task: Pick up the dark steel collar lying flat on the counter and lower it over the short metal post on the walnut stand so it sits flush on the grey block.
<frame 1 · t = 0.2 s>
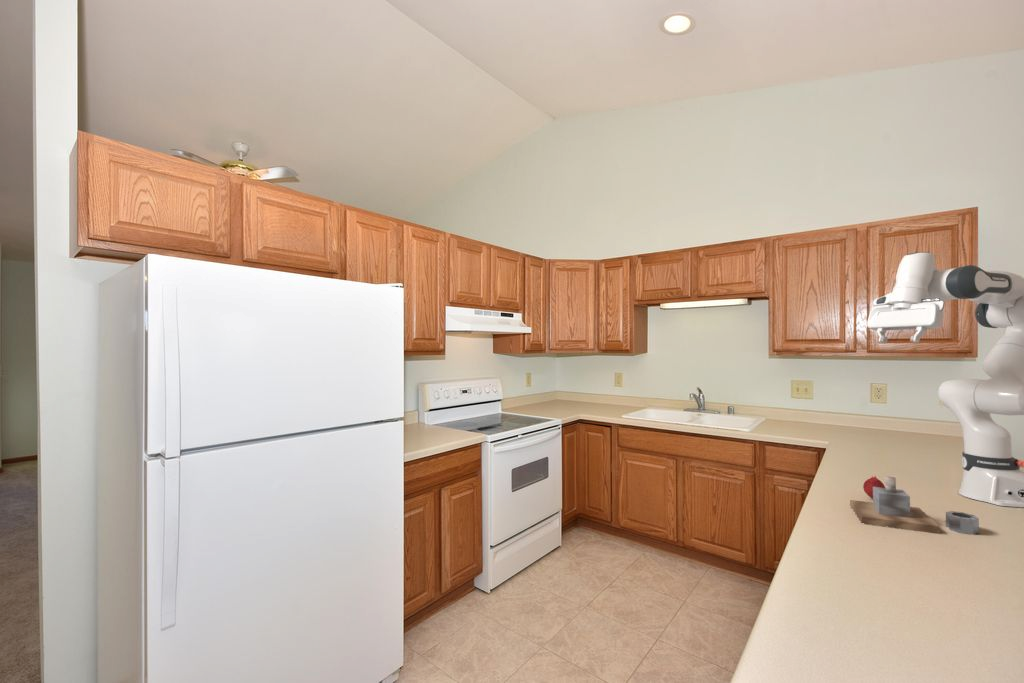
hand: (897, 342, 145), 52 cm above the counter, tool tilted 20°, fingers open, 8 cm apart
collar: (962, 529, 127), on the counter
post stand: (891, 518, 136), on the counter
red rounded piece: (874, 500, 153), on the counter
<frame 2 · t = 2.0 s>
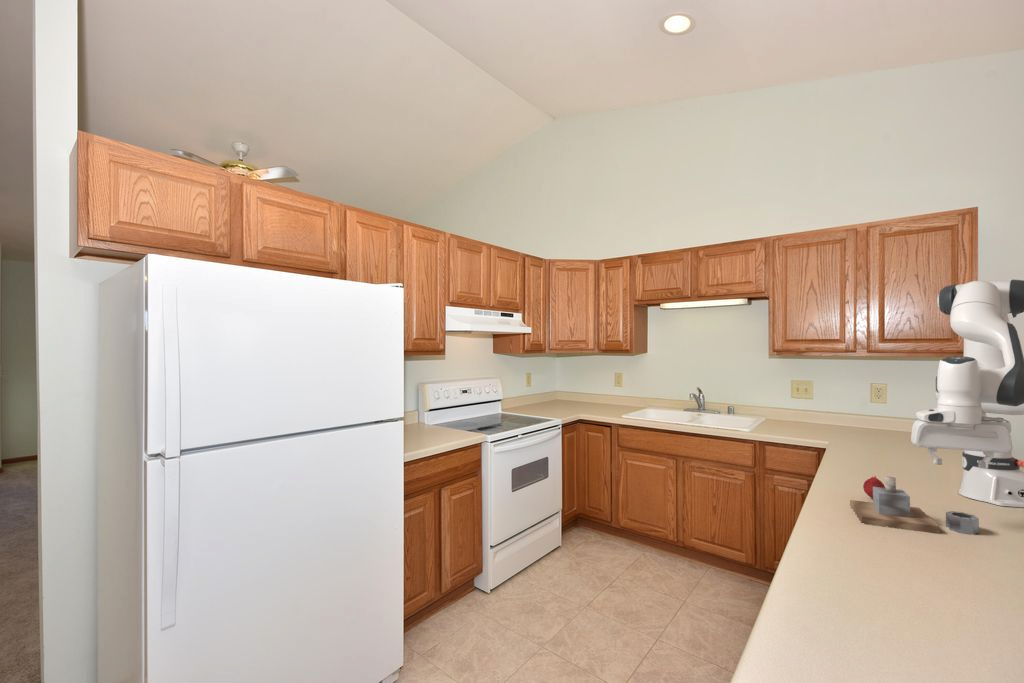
hand: (959, 466, 128), 17 cm above the counter, tool pointing down, fingers open, 8 cm apart
nothing on the counter moved.
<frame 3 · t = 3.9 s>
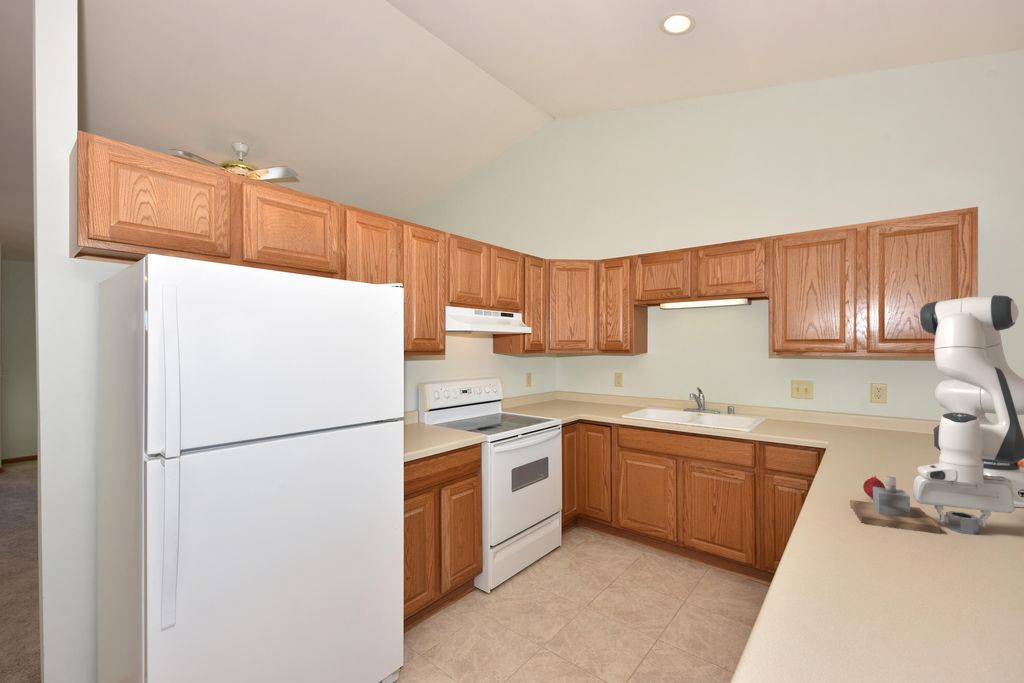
hand: (962, 523, 127), 2 cm above the counter, tool pointing down, fingers closed on collar, 6 cm apart
collar: (962, 529, 127), on the counter, touching gripper
everything else where it was.
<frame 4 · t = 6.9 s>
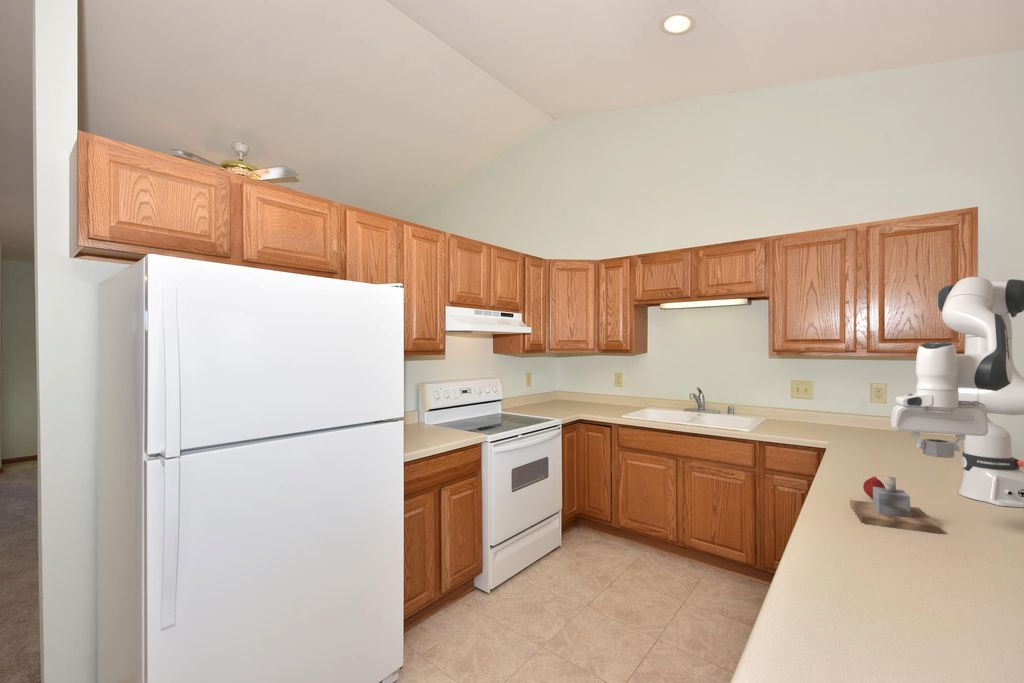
hand: (937, 449, 130), 22 cm above the counter, tool pointing down, fingers closed on collar, 6 cm apart
collar: (938, 455, 130), point 20 cm above the counter, touching gripper
everything else where it was.
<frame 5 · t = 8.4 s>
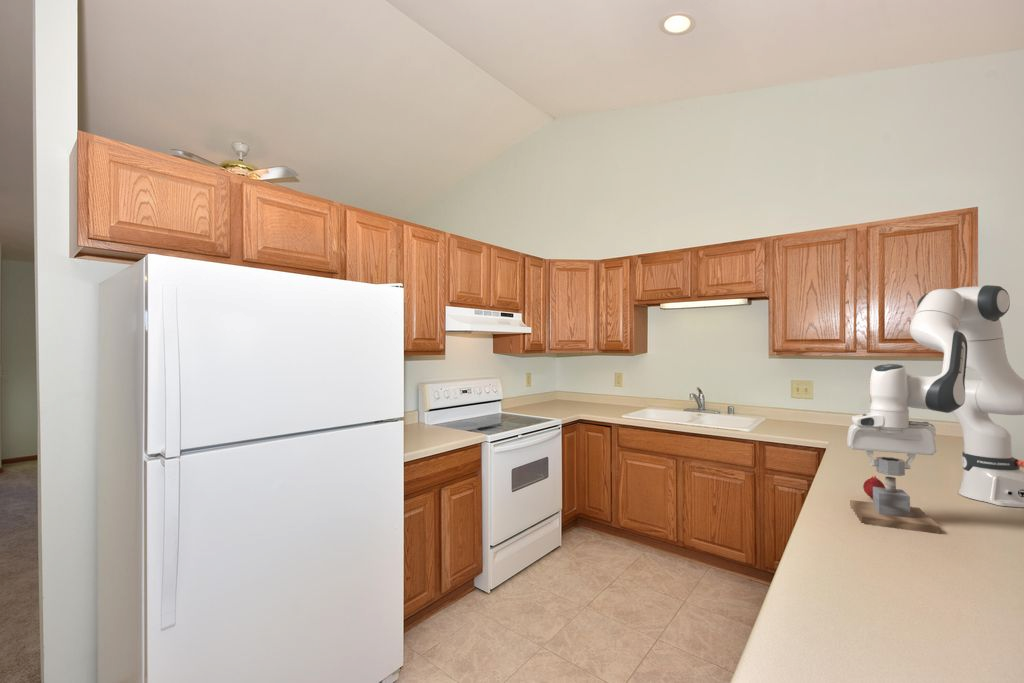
hand: (890, 467, 136), 15 cm above the counter, tool pointing down, fingers closed on collar, 6 cm apart
collar: (890, 472, 136), point 13 cm above the counter, touching gripper
everything else where it was.
when the fingers open (11 cm above the counter, at t = 9.8 s): collar stays where it is, resting on post stand.
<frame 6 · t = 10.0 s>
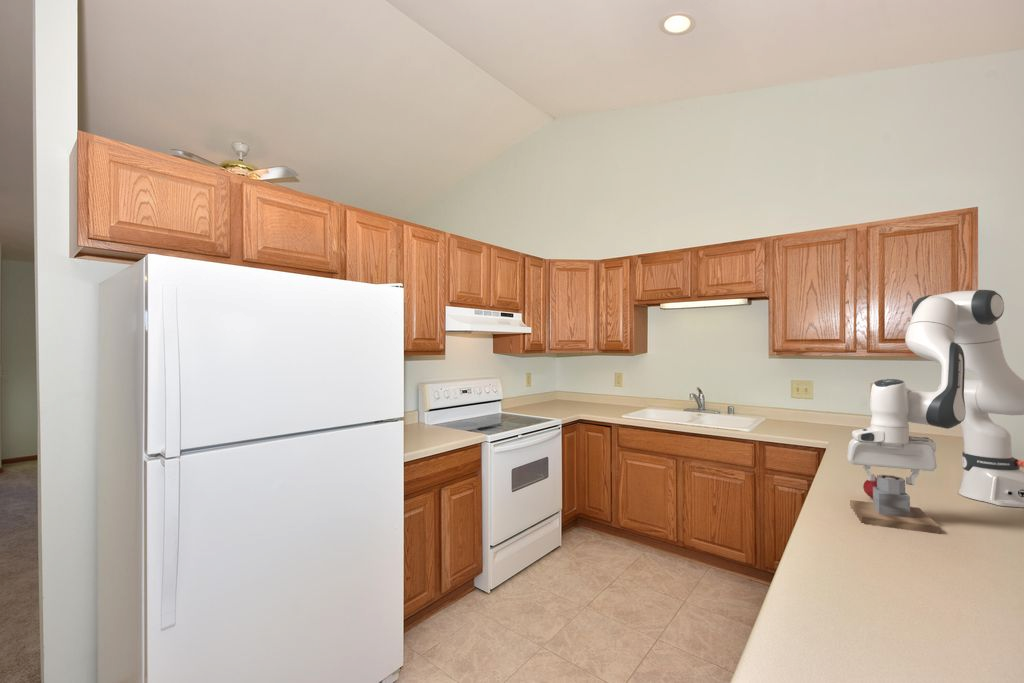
hand: (890, 482, 136), 11 cm above the counter, tool pointing down, fingers open, 8 cm apart
collar: (890, 491, 136), point 8 cm above the counter, touching post stand
everything else where it was.
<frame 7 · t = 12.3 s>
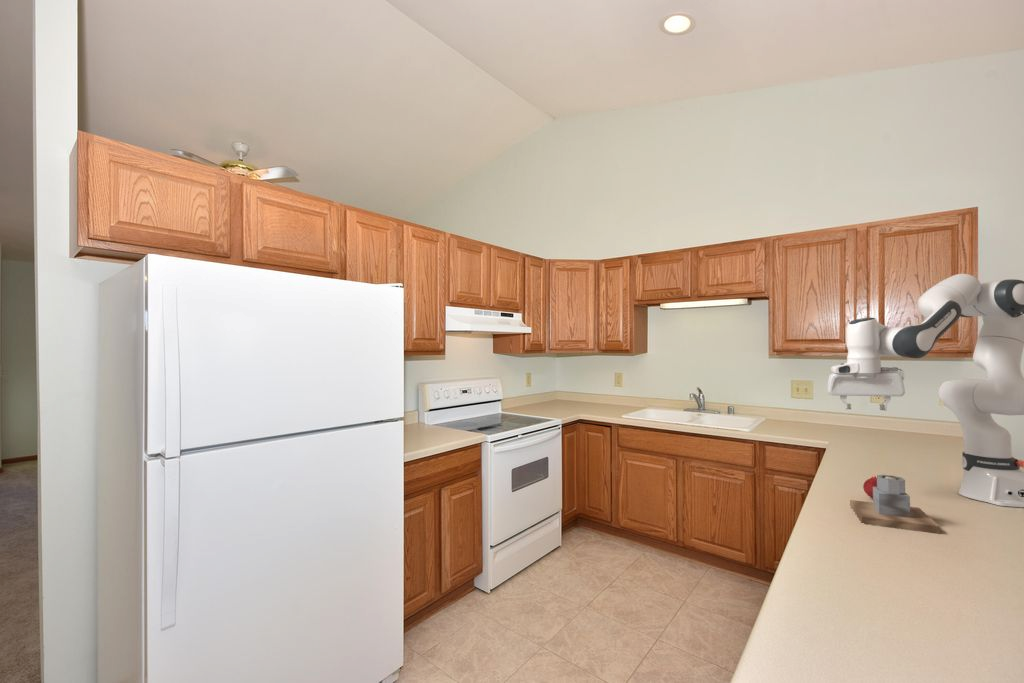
hand: (865, 409, 152), 30 cm above the counter, tool pointing down, fingers open, 8 cm apart
nothing on the counter moved.
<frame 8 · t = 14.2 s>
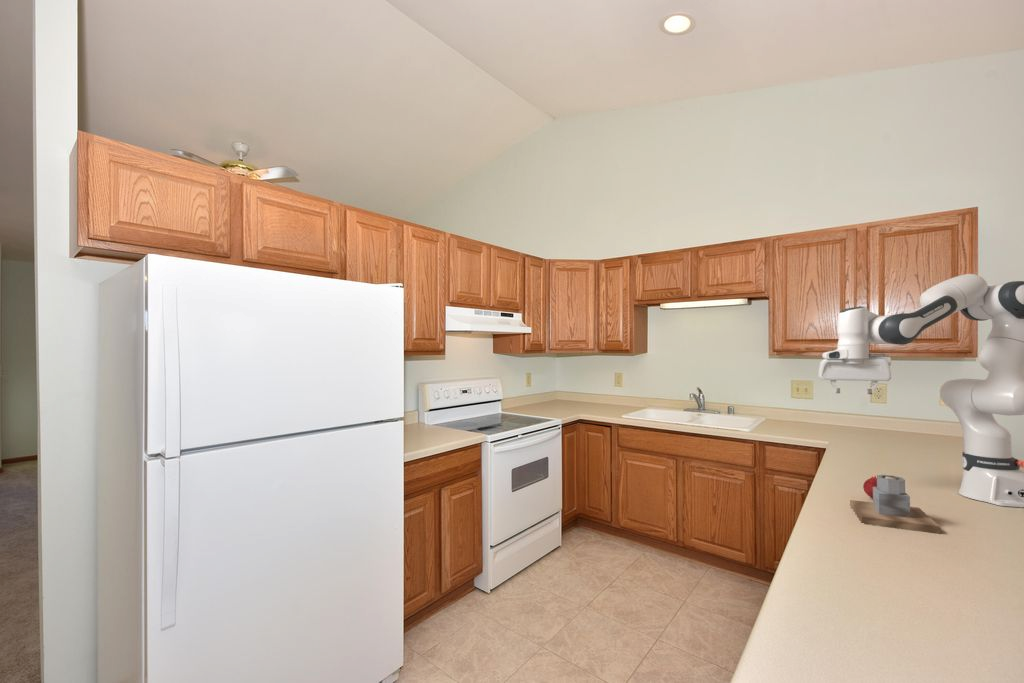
hand: (853, 393, 160), 34 cm above the counter, tool pointing down, fingers open, 8 cm apart
nothing on the counter moved.
at the end: collar 0.1 cm off-centre on the post stand, point 8.0 cm above the post stand's base; collar tilted 0°; the gripper is holding nothing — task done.
